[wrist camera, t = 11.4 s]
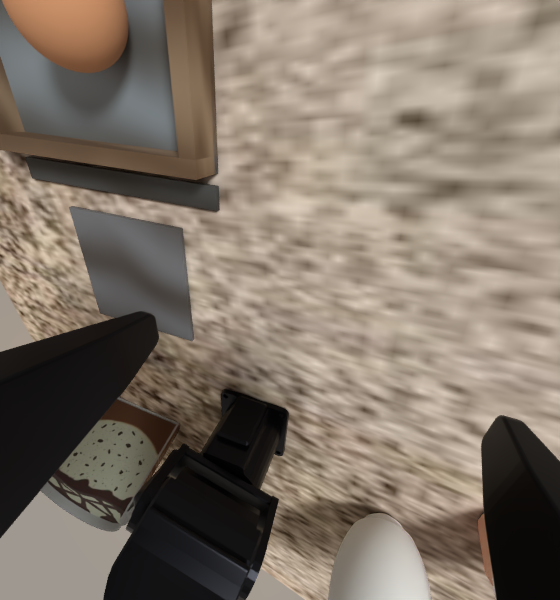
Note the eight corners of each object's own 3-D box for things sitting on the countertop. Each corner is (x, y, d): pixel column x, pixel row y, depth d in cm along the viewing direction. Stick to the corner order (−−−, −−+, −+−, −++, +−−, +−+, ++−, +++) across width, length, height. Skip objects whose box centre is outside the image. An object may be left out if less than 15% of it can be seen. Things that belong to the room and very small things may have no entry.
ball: (128, 79, 19) (145, 76, 15) (25, 69, 16) (16, 63, 13) (110, -40, 16) (124, -77, 12) (-16, -72, 14) (-42, -128, 10)
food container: (110, 421, 41) (36, 497, 33) (101, 389, 37) (16, 465, 29) (192, 458, 38) (134, 551, 30) (191, 428, 35) (124, 523, 27)
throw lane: (224, 348, 26) (210, 366, 24) (78, 304, 30) (55, 317, 29) (203, -227, 12) (161, -295, 10) (-78, -165, 16) (-148, -205, 14)
